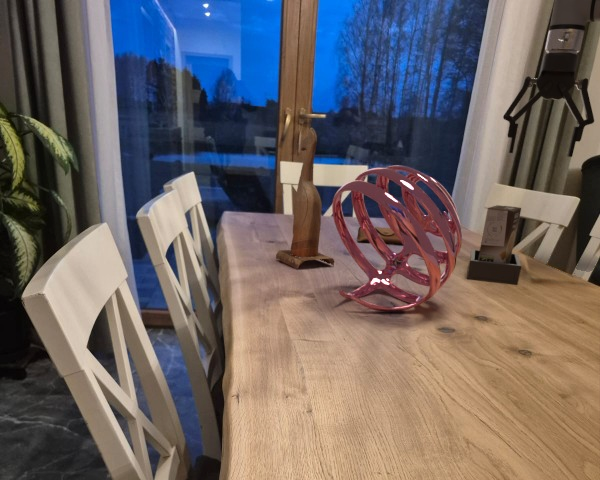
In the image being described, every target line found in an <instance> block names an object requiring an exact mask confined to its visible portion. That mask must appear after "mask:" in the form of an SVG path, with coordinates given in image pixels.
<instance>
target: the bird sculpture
mask: <svg viewBox="0 0 600 480" xmlns="http://www.w3.org/2000/svg"><path fill="white" fill-rule="evenodd" d="M317 144H318V136H317V132H316V130H315V129H314V128H313V127H310V128H309V129H308V131H307V134H306V136H305V137H304V138H303V140H302V141H301V146H300V151H303V152H304V151H306V153H305V156H304V157H303V162H302V165H301V170H300V175H299V179H298V183H297V189H296V193H295V194H296V195H295V200H294V210H293V211H294V212H293V221H292V222H293V223H292V240H291V244H290V249H283V250H282V249H281V250H278V251H277V253H276V254H275V259H276V260H278V261H280V262H282V263H284V264H287V265H289V266H291V267H293V268H294V269H296V270H298V269H299V267H300V266H301V265H302V264H303V263H304V262H305V261H315V260H319V261H321V262H324V263H326V264H329V265H331V266H333V267H335V259H334V258H332V257H330V256H327V255H326V254H323V253H321V252H319V246H320V244H319V243H320V236H321V234H320V233H321V224H322V211H323V210H322V209H323V208H322V207H323V204H322V199H321V195H320V193H319V191H318V188H317V187H316V185H315V184H314V163H315V156H316V155H315V154H316V151H317V150H316V147H317Z"/></svg>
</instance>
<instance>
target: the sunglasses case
mask: <svg viewBox="0 0 600 480" xmlns="http://www.w3.org/2000/svg"><path fill="white" fill-rule="evenodd" d="M374 228H375V229H376V231H377V232H378V234H379V235H380V237H381V238H382V240H383V241H384V242H385V243H386V245H394V246H403V243H402V242H401V241H400V239H399V238H398V237H397V236H396V235H395V233H394V232H393V231H392V229H391V228H390V227H382V226H381V227H379V226H374ZM356 241H357V242H359V243H360V242H363V243H365V242H366V243H370V242H369V240H368V239H367V237H366V236H365V234H364V232H363V230H362V229H361V227H360V226H359V227H358V229H357V237H356Z"/></svg>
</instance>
